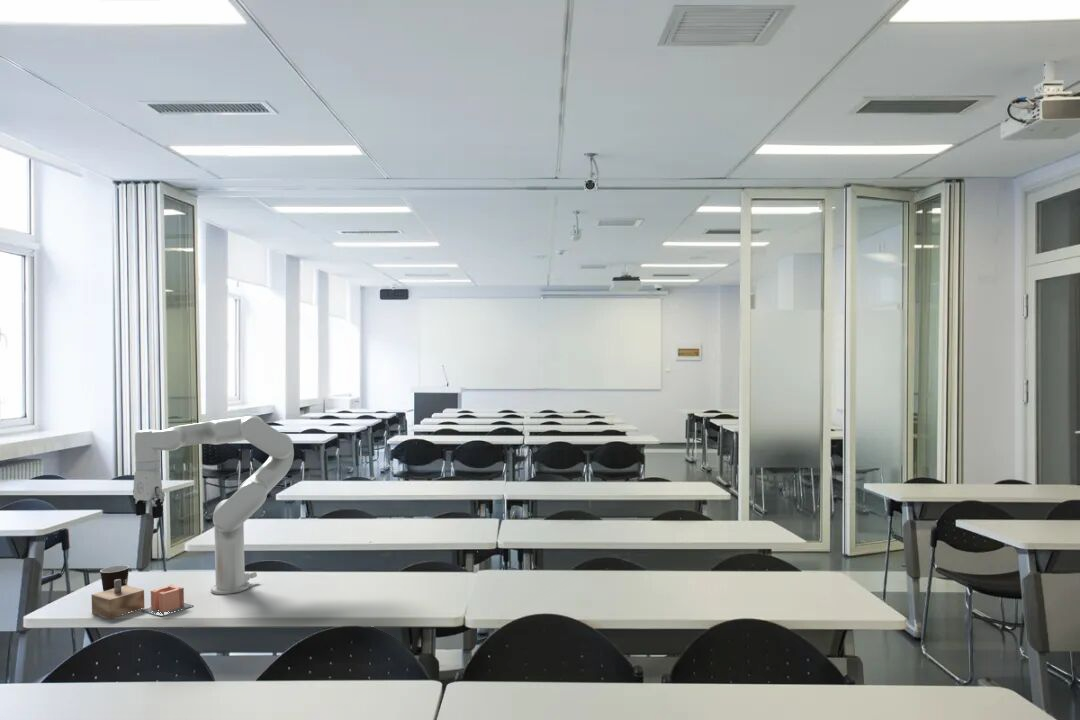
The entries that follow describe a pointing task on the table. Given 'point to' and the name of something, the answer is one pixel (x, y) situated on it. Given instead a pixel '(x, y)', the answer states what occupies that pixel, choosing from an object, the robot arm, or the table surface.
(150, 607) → the mat
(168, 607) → the c link
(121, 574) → the coffee mug
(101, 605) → the stand
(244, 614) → the table surface
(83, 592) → the table surface
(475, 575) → the table surface
